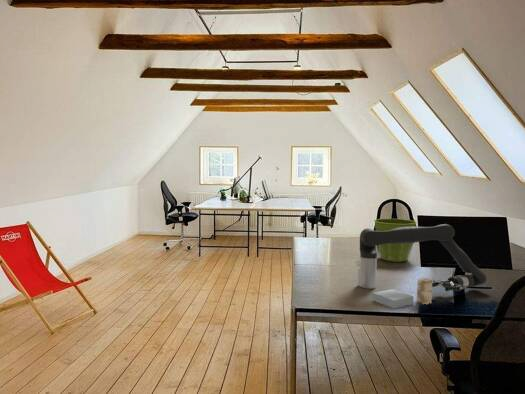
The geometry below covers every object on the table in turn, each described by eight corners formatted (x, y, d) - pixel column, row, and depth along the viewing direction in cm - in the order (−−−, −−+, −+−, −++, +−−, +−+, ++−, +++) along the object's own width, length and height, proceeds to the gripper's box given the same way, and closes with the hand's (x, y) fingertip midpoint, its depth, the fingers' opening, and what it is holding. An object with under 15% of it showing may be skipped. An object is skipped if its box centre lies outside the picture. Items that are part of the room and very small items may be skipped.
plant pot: (417, 258, 330) (419, 220, 328) (411, 266, 304) (413, 225, 301) (378, 253, 344) (379, 217, 341) (368, 261, 317) (370, 221, 315)
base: (372, 300, 226) (373, 292, 226) (391, 296, 233) (392, 289, 233) (393, 308, 214) (394, 300, 214) (413, 303, 221) (413, 296, 221)
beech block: (416, 301, 225) (417, 278, 224) (423, 300, 227) (424, 277, 226) (424, 304, 221) (425, 281, 220) (431, 303, 223) (432, 280, 222)
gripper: (446, 273, 243) (427, 276, 235) (470, 279, 231) (450, 283, 223) (446, 286, 244) (426, 290, 236) (469, 293, 232) (450, 297, 223)
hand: (438, 286), depth 229 cm, fingers open, 8 cm apart
